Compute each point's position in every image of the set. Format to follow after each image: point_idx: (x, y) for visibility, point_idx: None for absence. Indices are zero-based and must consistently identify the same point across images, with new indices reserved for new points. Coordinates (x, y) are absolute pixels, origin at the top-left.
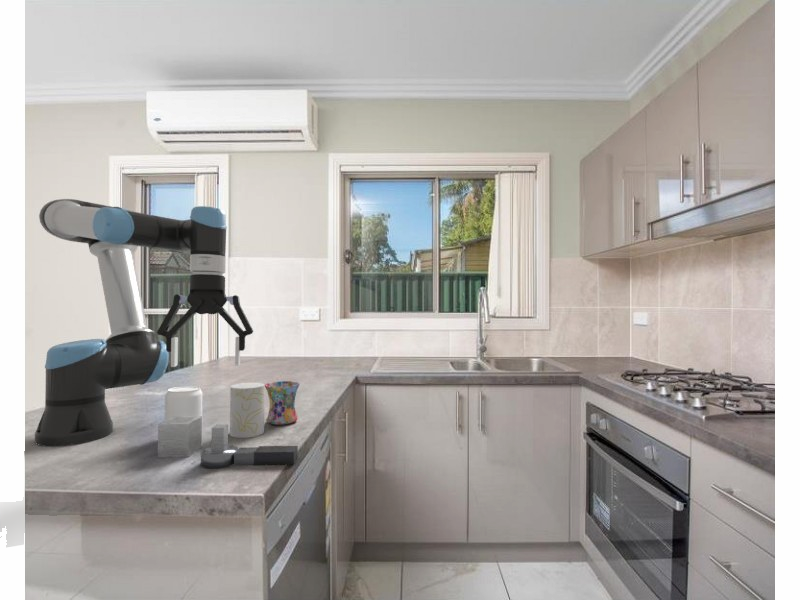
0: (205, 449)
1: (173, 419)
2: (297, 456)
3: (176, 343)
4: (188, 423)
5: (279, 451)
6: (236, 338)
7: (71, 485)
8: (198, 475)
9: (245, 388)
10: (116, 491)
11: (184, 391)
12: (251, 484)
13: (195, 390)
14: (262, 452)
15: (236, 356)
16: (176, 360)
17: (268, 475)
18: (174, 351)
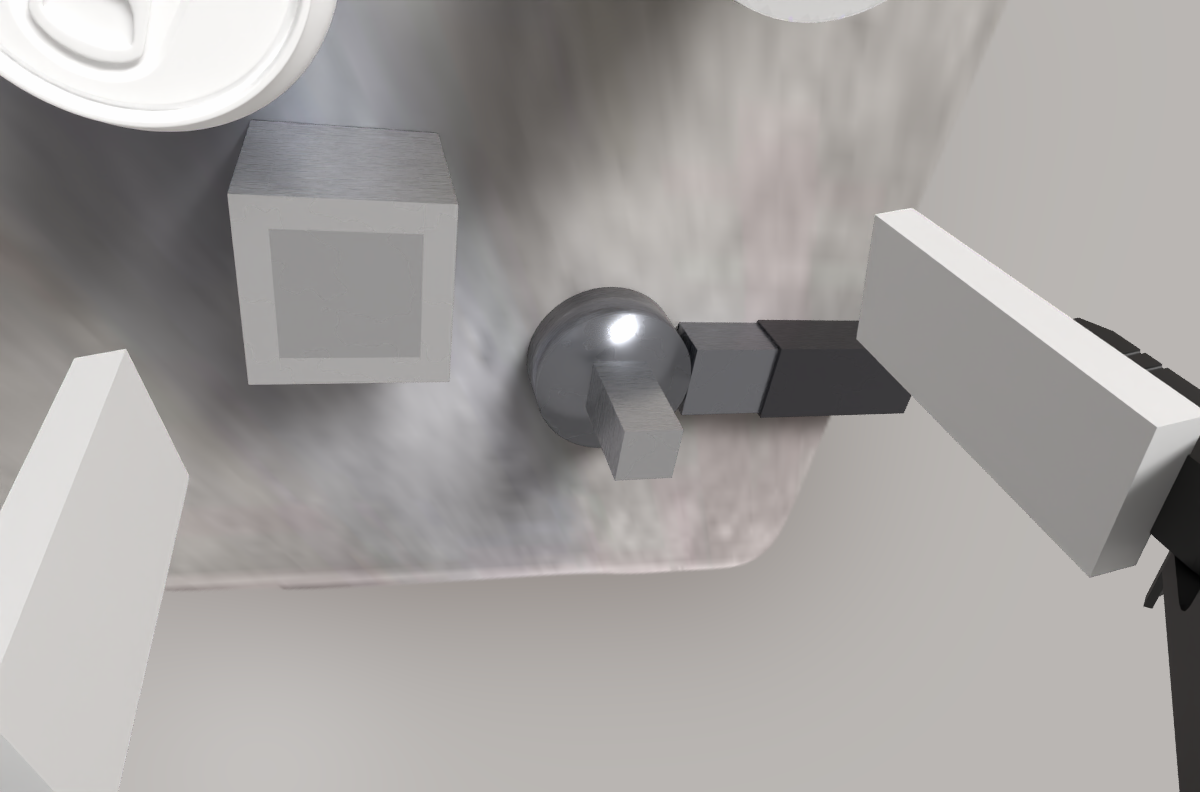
0: (546, 371)
1: (284, 278)
2: None
3: (78, 674)
4: (441, 371)
5: (854, 409)
6: (1092, 563)
7: None
8: (555, 466)
9: (820, 19)
10: (327, 577)
11: (220, 114)
12: (739, 517)
13: (304, 27)
14: (792, 415)
15: (927, 393)
16: (136, 446)
17: (788, 461)
18: (149, 634)
